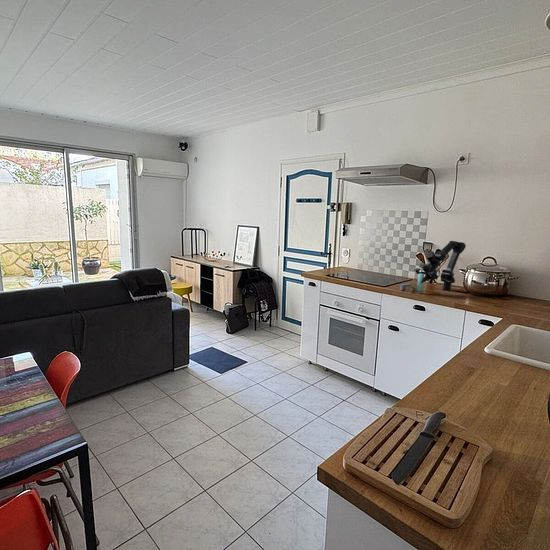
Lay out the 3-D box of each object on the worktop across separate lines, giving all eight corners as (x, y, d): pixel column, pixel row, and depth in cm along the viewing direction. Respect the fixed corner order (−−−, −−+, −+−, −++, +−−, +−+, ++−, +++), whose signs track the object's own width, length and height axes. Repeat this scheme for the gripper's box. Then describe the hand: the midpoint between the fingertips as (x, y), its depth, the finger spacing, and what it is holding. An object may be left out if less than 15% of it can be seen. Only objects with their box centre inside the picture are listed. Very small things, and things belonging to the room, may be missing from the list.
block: (419, 291, 267) (419, 287, 266) (411, 292, 262) (411, 289, 262) (412, 290, 272) (413, 286, 271) (405, 291, 267) (405, 287, 267)
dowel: (417, 289, 264) (418, 273, 262) (422, 290, 262) (424, 273, 260) (416, 290, 261) (417, 274, 259) (422, 291, 259) (423, 274, 256)
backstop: (410, 289, 274) (410, 283, 273) (401, 290, 269) (402, 284, 268) (408, 288, 276) (408, 283, 275) (399, 290, 271) (400, 284, 270)
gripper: (417, 257, 267) (404, 272, 265) (436, 261, 250) (423, 277, 248) (424, 267, 271) (412, 282, 270) (444, 271, 254) (430, 287, 252)
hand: (419, 281), depth 260 cm, fingers closed on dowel, 4 cm apart
